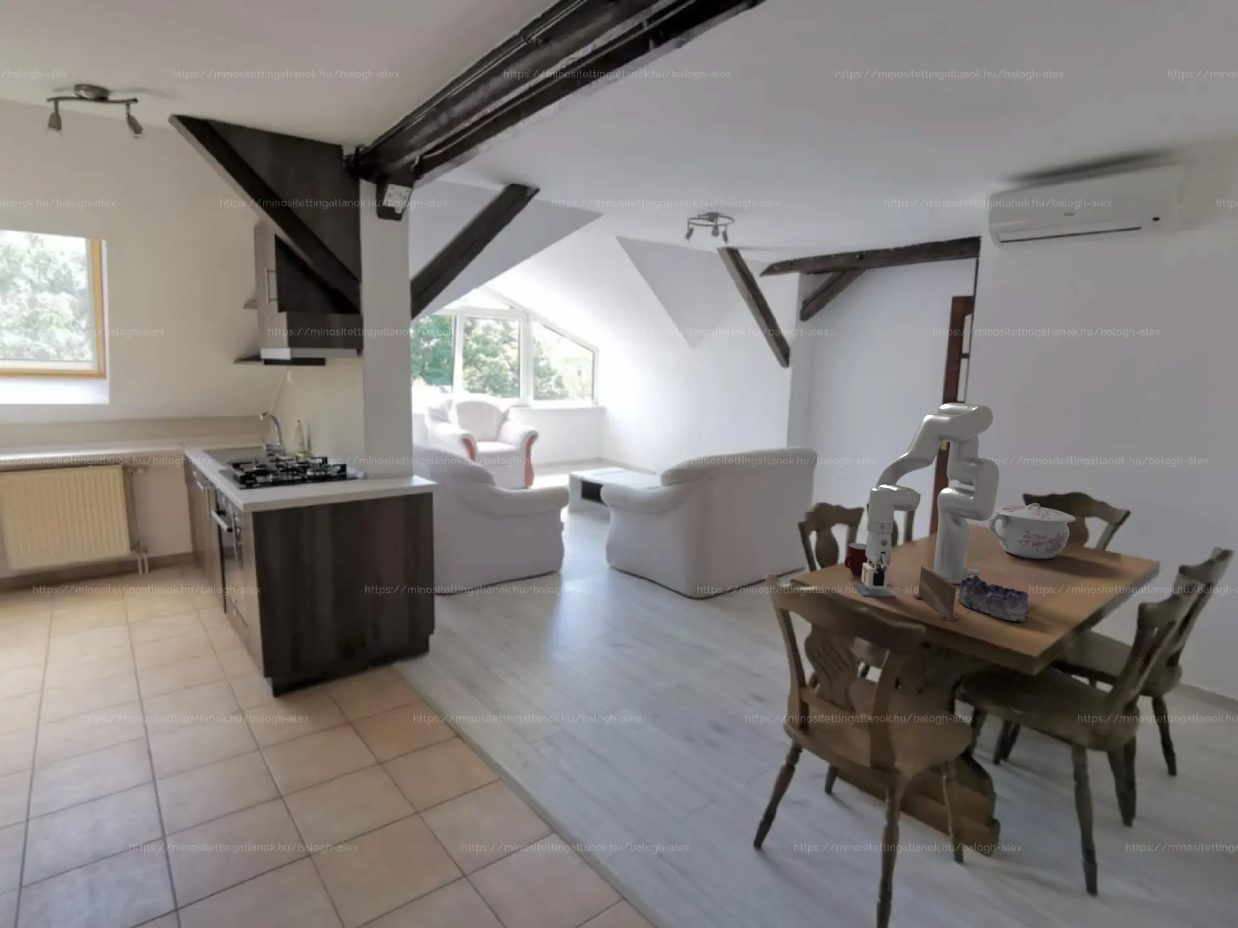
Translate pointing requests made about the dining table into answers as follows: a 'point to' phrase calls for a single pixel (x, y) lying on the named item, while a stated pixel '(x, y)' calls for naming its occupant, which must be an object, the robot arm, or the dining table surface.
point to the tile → (873, 591)
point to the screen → (937, 593)
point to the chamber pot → (1030, 530)
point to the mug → (856, 558)
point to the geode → (993, 599)
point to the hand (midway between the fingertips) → (874, 581)
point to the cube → (872, 575)
